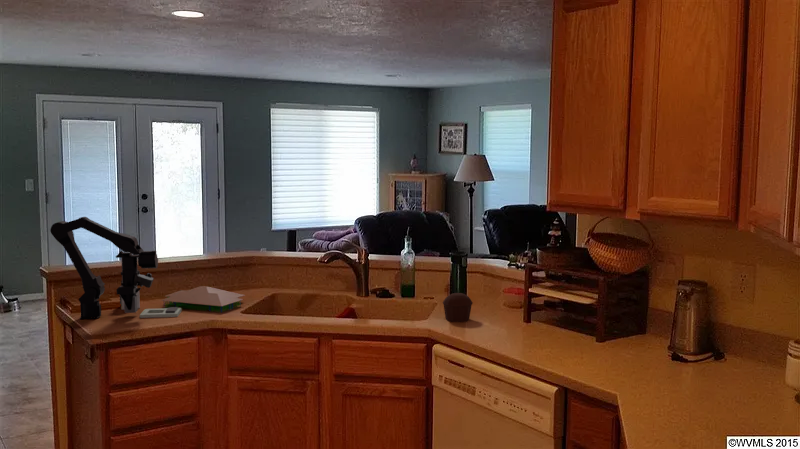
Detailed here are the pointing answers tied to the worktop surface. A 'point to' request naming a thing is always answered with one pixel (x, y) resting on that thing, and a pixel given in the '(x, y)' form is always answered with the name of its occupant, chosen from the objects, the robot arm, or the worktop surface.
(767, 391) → the worktop surface
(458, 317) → the muffin
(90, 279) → the robot arm
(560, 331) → the worktop surface
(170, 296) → the house
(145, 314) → the plate
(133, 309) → the block
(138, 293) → the medicine bottle
